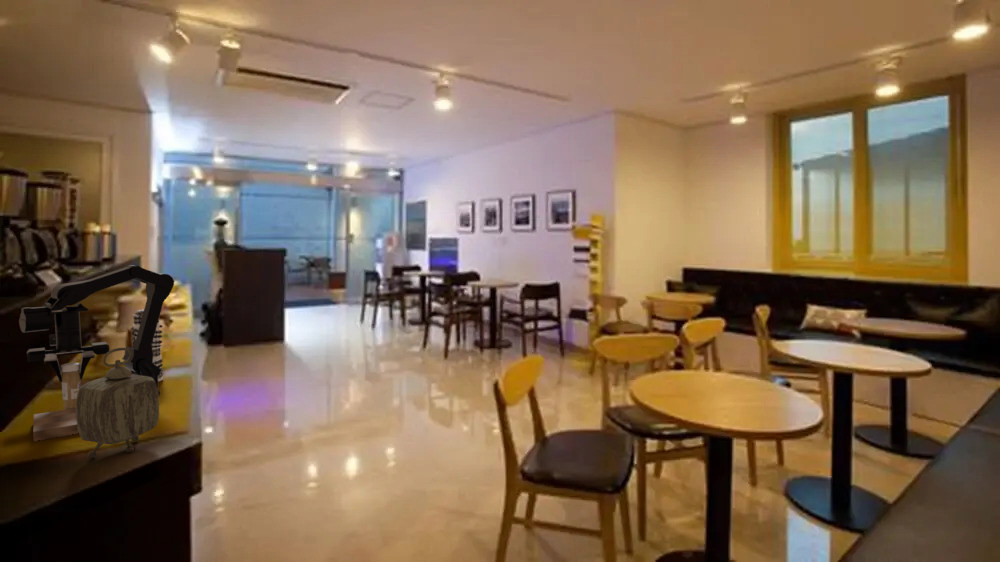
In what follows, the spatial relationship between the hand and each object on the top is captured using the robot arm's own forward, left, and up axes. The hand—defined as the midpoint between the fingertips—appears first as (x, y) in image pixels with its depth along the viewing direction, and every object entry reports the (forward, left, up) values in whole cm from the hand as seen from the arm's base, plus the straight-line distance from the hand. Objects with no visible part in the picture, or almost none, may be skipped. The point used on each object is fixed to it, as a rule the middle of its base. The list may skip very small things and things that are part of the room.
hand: (71, 380), depth 160 cm
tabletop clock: (-8, +46, -9) cm, 48 cm away
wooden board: (-1, +17, -9) cm, 19 cm away
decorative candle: (-22, -23, -9) cm, 33 cm away
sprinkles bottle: (0, 0, -9) cm, 9 cm away
